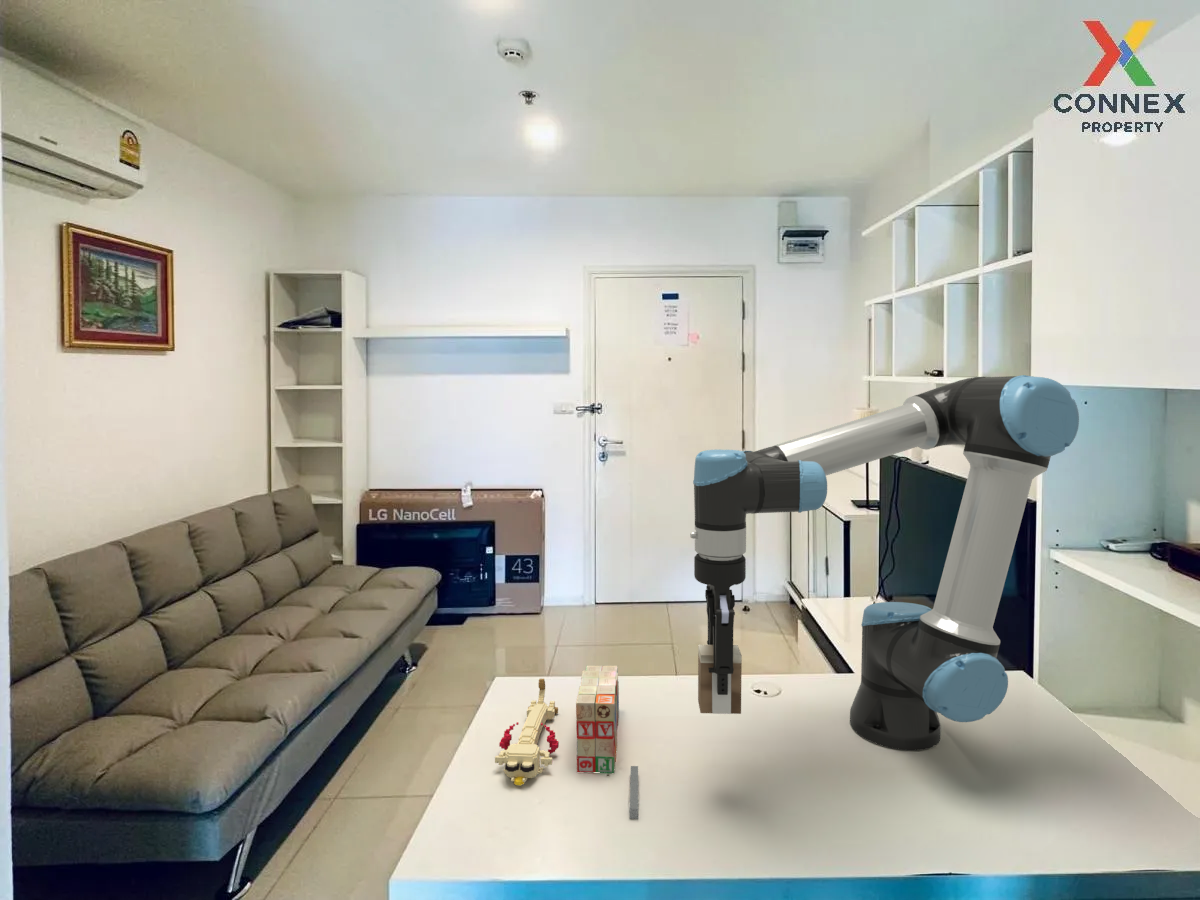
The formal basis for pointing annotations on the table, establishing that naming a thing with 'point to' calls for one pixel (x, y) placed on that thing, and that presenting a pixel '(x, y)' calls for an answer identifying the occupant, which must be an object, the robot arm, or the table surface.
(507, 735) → the cream long toy figure
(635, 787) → the grey bar
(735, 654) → the walnut block
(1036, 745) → the table surface
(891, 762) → the table surface
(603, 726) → the stack of blocks
